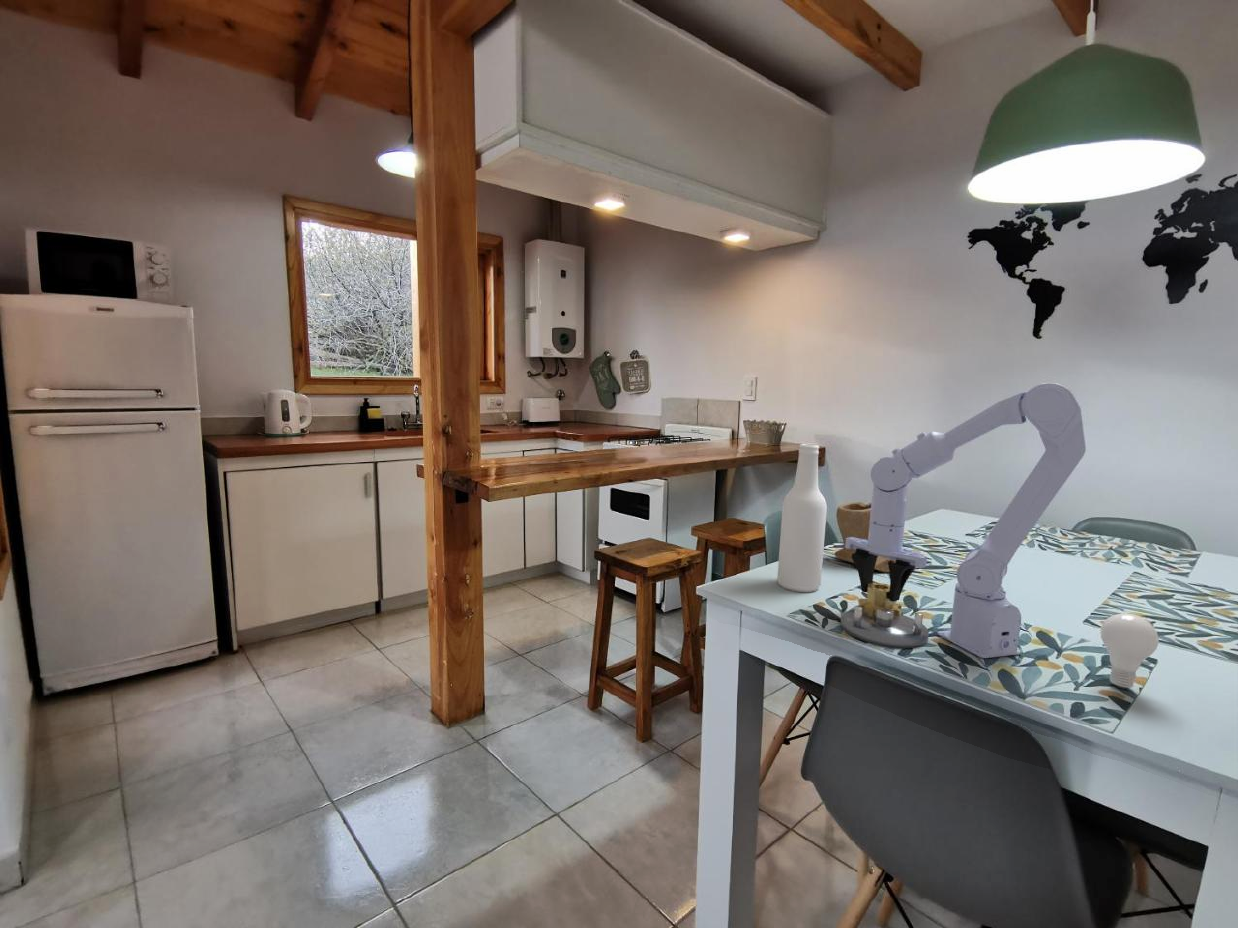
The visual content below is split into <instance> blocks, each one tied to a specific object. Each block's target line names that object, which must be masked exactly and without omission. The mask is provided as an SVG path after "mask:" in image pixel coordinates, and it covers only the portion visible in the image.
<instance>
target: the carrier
mask: <svg viewBox="0 0 1238 928" xmlns="http://www.w3.org/2000/svg"><path fill="white" fill-rule="evenodd" d="M923 619H924V614H923V613H921V612H915V613H914V618H913V617H910V616H907V615H903V614H901V616H900V617H896V616H893V611H892V610H890V609H886V608H878V609H877V614H876V616H873V617H872V616H869V615H868V613H866V612H864V611H862V607H861V606H858V605H855V606H854V609H849V610H847V611H845V612H843V613H842V614H841V616H840V626H841V629H842V630H843V631H844V632H846V633H847V634H849V636H851V637H854V638H855V639H858V640H860V641H863V642H866V643H868V644H872V645H876V646H881V647H887V648H893V649H894V648H895V649H913V648H919V647H922V646H925V645H926V644H927V642H928V640H929V630H928V628H927V626H925V625H924V624H923Z"/></svg>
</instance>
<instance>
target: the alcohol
mask: <svg viewBox="0 0 1238 928" xmlns="http://www.w3.org/2000/svg"><path fill="white" fill-rule="evenodd" d="M798 447H799V449H798V458H797V459H798V460H797V466H796V473H795V478H794V479H795V480H794V484H793V486H792V489H790V490H789V492H788V493H787V494H786V495H785V496H784V498H783V499H784V500H783V502H782V508H781V509H782V510H781V511H782V512H781V521H780V522H781V523H780V537H779V538H780V539H779V551H778V552H779V553H778V566H777V578H776V579H777V583H778V584H779V586H780V587H781V588H784V589H785V590H788V591H792V592H796V593H797V592H798V593H813V592H816V591H818V590H819V588H820V586H821V585H822V583H821V582H822V571H823V559H824V550H825V549H824V548H825V547H824V546H825V537H826V536H825V535H826V525H827V524H826V523H827V522H826V521H827V511H828V507H827V501H826V499H825V496H824V495H823V494H822V492H821V491H820V488H819V487H820V486H819V454H820V451H819V449H820V446H819V445H818V444H814V443H813V444H812V443H811V444H810V443H801V444H799V445H798Z"/></svg>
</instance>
